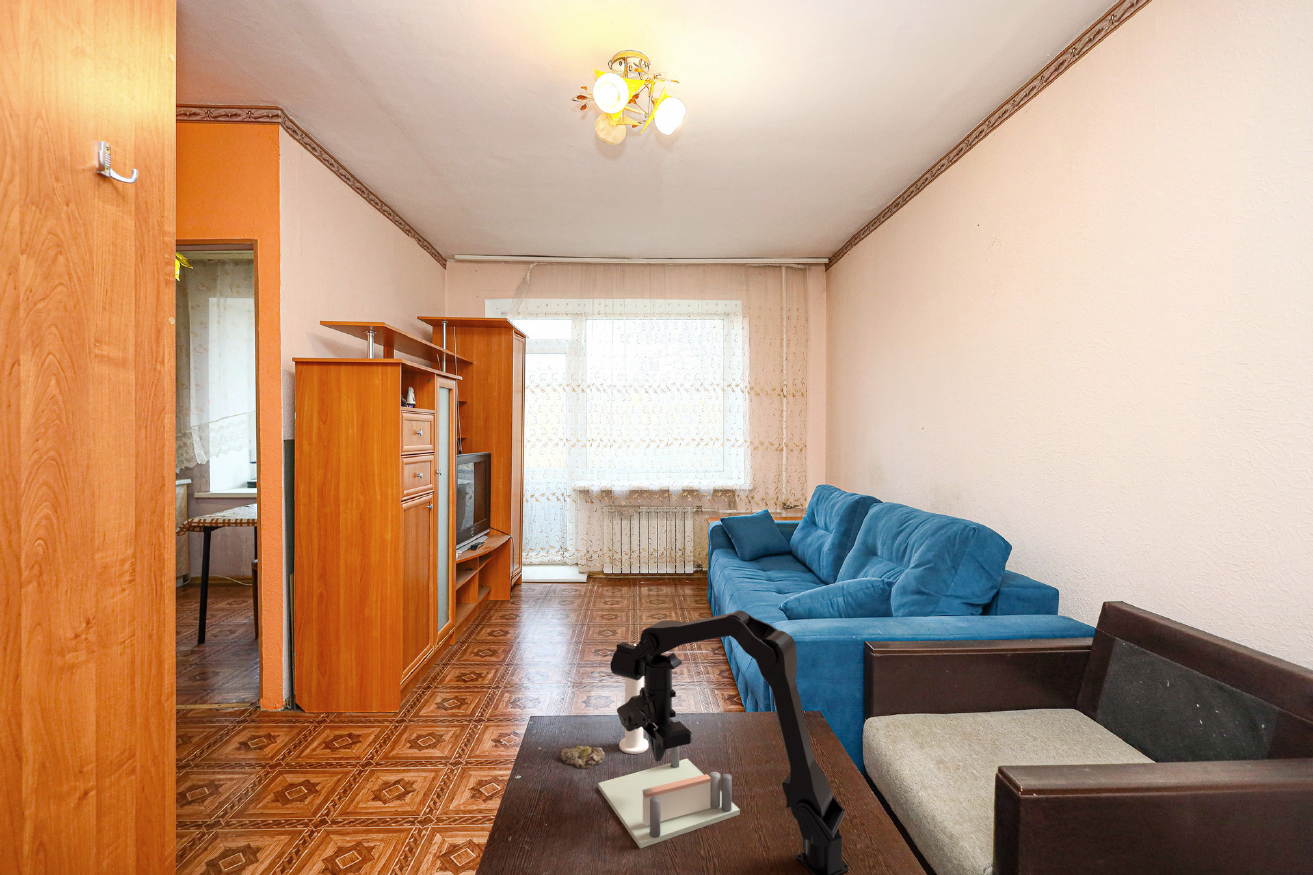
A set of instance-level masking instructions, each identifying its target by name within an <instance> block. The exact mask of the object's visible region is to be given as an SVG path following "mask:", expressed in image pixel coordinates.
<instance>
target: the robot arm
mask: <svg viewBox="0 0 1313 875" xmlns="http://www.w3.org/2000/svg"><path fill="white" fill-rule="evenodd" d="M726 637H731V638H732V639H734V640H735V641H736V642H737V643H738V645H739V646H740V647H741V649H742V650H743V651H744V653H746V654H747V655H748V656H750V657H752V659H754V660H755V662H756V665H757V667H758V670H759V672H760V675H761V676H762V678H763V680H764V681H765V682H766V683H767V685H768V686H769V687H770V689H771V693H772V697H773V701H774V706H775V709H776V713H777V714H776V715H777V718H778V722H779V726H780V730H781V735H782V740H783V743H784V746H785V751H786V755H787V760H788V764H789V770H790V771H789V773H788V774H787V776H785V778H784V780H783V781H782V783H781V784H782V790H783V792H784V796H785V798H786V809H789V808H790V812H791V814H792V816H793V818H794V820H796V822H797V824H798V827H799V831H800V834H801V837H802V851H803V852H801V853H799V854H797V855H796V859H797V861H799V862H800V863H801V865H803V866H804V867H805V868H806V869H807V870H808V871H809V872H810V874H812V875H840V874H842V873H847V871H849V869H850V867H849V865H848V864H847V863H845V861H843V836H842V835H841V834H840V832H841V831H840V829H839V827H840V825H841V823H842V821H843V819H844V817H845V814H846V810H845V808H844V807H843V806H842V804H841V803H840V802H839V801H838V799H837V798H836V797H835V795H834V794H833V790H832V788H831V786H830V783H829V781H828V779H827V775H826V773H825V772H824V771H823V770H822V768H821V766H819V764H818V763H817V762H816V759H815V754H814V750H813V747H812V742H811V739H810V734H809V730H808V726H807V722H806V719H805V714H804V710H803V706H802V701H801V698H800V693H799V688H798V685H797V668H798V656H797V646H796V642H795V638H794V637H793V636H792V635H790V633H787V632H786V631H784V630H780V629H777V628H776V627H775V626H773V625H772V624H770V623H767V622H765V621H762V620H761V619H757V618H755V617H753V616H752V615H751V614H749V613H747V612H745V611H744V610H735V611H733V612H731V613H725V614H720V615H716V616H715V615H714V616H711V617H706V618H700V619H695V620H692V621H691V620H690V621H678V620H672V619H671V620H664V619H663V620H660V621H658V622H656V623H654V624H651V625H650V626H648V627H646V628H644V629H643V630H641V634H640V637H639V638H640V640H639V642H638V643H637V644H636V646H634V644H630V643H628V642H625V641H621V642H619V643H618V644H616V650H615V651H614V652H613V655H612V657H611V661H610V666H609V668H610V671H611V674H613V675H614V676H617V677H619V676H620V677H622V678H625V677H626V678H629V679H633V680H640V679H641V678H642V677H643V676H644V687H642V688H641V690H640V695H637V696H632V697H631V698H630V700H629V701H628V702H627V703H625V702H624V704H622V705H620V706H619V707H617V709H616V712H617V716H618V718H619V720H620V723H621V726H623V727H624V729H625V728H626V730H627V731H629V732H630V731H633V730H635V729H638V728H640V727H642V728H643V731H645V732H646V734H647V736H648V739H649V743H650V748H651V751H652V755H653V759H654V761H655V762H660V761H662V760H663V757H664V755H665V753H666V750H668V749H670V750H671V748H674V747H678V746H680V747H681V746H682V747H683V746H686V745H690V744H691V743H692V731H691V730H690V729H689V728H688V727H687V726H685V725H684V724H683V723H682V722H681V720H678V721H675V720H674V719H673V718H675V717H676V713H677V712H676V711H675V710H674V709H673V698H676V697H677V692H676V691H675V690H674V689H673V670H675V669H676V668H678V667H680V666H682V663H683V662H682V660H681V659H680V658H679V657H678V656H677V655H676V653H674V652H672V653H670V654H669V655H666V654H665V653H667V652H669V651H671V650H673V649H674V650H675V648H678V647H680V646H682V645H687V644H688V645H689V644H693V643H697V642H703V641H707V640H708V641H710V640H714V639H722V638H726Z"/></svg>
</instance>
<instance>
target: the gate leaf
mask: <svg viewBox="0 0 1313 875" xmlns="http://www.w3.org/2000/svg"><path fill="white" fill-rule="evenodd" d="M720 791H721V773H719V771H712V772H710V773H709V774H708V773H705V774H704V775H701V776H697V777H693V778H689V779H685V780H681V781H677V782H673V783H669V784H664V785H660V786H656V787H652V788H648V789H644V790H643V819H642V821H643V823H644V824H645V826H648V825H650V798H651V797H653V796H657V797H659V798H660V799H661V821H664V820H667V819H671V818H675V817H679V816H682V815H686V814H690V813H693V812H697V811H701V810H705V809H708V808H710V807H712V808H718V807H720Z"/></svg>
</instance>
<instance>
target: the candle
mask: <svg viewBox="0 0 1313 875" xmlns="http://www.w3.org/2000/svg"><path fill="white" fill-rule="evenodd" d="M633 645H634V646H637V644H636V643H633ZM644 681H645V676H643V677H642V678H641V679H640V680H633V679H629V678H626V677H624V704H625V703H627V702H628V701H629V700H630V698H631V697H632V696H637V695H640V690H641V688H642V687H644ZM648 749H649V741H648V740H647V739H646V738H644V729H643V728H642V727H640V728H638V729H635V730H633V731H630V732H629V731H627V730H626V728H625V727H624V738H622V739H621V740H620V741H619V750H620V751H621V752H623V753H625V754H630V755H637V754H641V753H644V752H646V751H647V750H648Z"/></svg>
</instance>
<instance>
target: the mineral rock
mask: <svg viewBox="0 0 1313 875" xmlns="http://www.w3.org/2000/svg"><path fill="white" fill-rule="evenodd" d="M559 758H560V759H561V760H562V762H564V763H565V764H568V765H574V766H576V767H577V768H578V769H587V768H589V769H590V768H594V766H597V765H599V764H601V763H602V762H604V760H605V758H606V753H605V752H604V750H603V749H602V747H597V746H596V747H592V746H589V745H584V746H582V745H579V744H577V745H575V746H574V747H572V748H568V747H565V748H562V750H561V751H560V756H559Z"/></svg>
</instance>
